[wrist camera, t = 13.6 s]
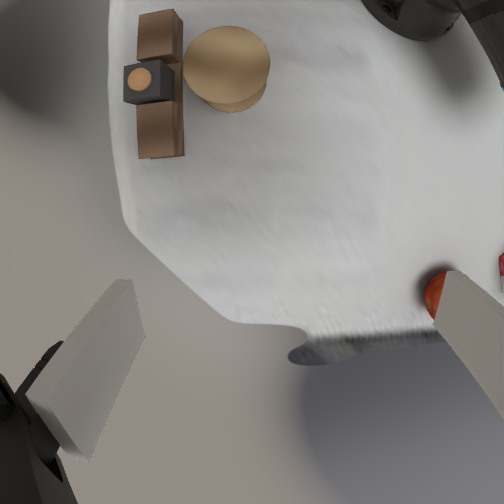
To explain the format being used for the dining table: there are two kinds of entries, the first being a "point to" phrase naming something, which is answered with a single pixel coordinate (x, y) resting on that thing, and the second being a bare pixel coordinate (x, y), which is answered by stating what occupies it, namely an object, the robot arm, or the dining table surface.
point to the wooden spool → (227, 68)
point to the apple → (434, 293)
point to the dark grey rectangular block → (149, 83)
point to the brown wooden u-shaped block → (169, 112)
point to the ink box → (502, 271)
